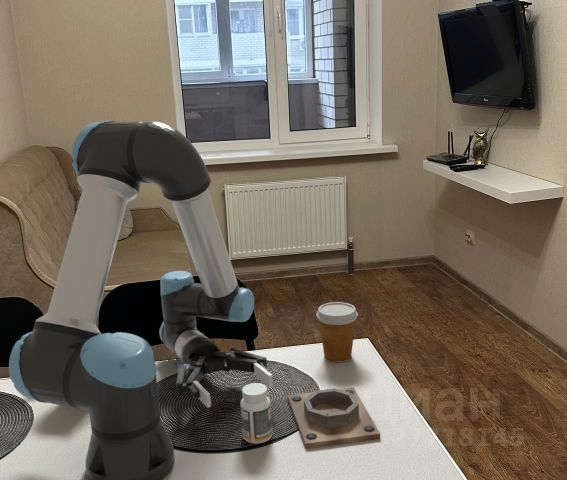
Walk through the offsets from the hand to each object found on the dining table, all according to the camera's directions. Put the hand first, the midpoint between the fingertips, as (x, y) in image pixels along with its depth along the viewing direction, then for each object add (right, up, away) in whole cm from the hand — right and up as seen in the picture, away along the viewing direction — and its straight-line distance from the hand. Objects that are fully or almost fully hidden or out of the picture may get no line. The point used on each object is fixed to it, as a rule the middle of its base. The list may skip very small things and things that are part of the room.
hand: (240, 390), depth 127 cm
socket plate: (+18, -5, 0) cm, 19 cm away
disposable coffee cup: (+21, +2, +26) cm, 34 cm away
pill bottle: (+4, -8, -5) cm, 10 cm away
